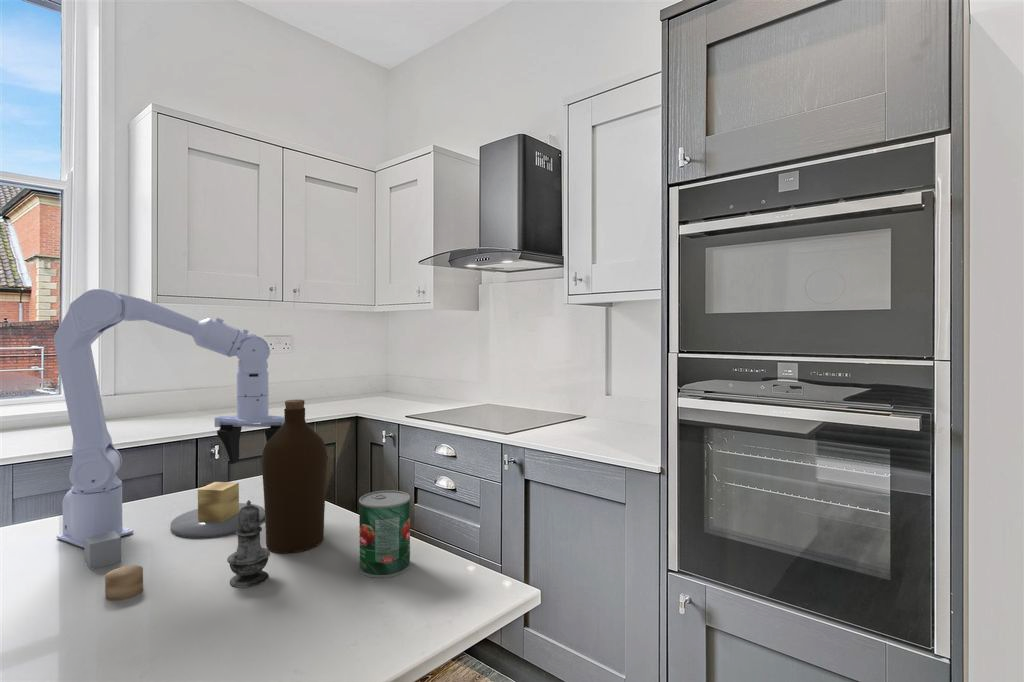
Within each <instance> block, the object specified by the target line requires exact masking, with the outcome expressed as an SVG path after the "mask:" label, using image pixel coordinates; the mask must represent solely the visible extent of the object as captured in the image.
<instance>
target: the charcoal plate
mask: <svg viewBox="0 0 1024 682" xmlns="http://www.w3.org/2000/svg"><path fill="white" fill-rule="evenodd" d="M246 505H247V502H246V503H245V502H244V503H243V502H239V510H240V509H241V508H243V507H245V506H246ZM250 505H252V506H256V507H257V508H258V509H259V524H260V523H261V522H263V521H264V520H265V507H262V506H261V505H258V504H254V503H253V504H252V503H250ZM237 530H238V514H236V515H235V516H233V517H231V518H229V519H227V520H226V521H224V522H211V521H198V508H195V509H193V510H190V511H186V512H184V513H182V514H180V515H178V516H176V517H175V518H173V520H171V522H170V532H171V534H173V535H175V536H177V537H180V538H187V539H188V538H190V539H202V538H205V539H206V538H213V537H215V538H216V537H221V536H228V535H231V534H236V531H237Z"/></svg>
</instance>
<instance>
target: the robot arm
mask: <svg viewBox="0 0 1024 682" xmlns="http://www.w3.org/2000/svg"><path fill="white" fill-rule="evenodd" d="M123 321H125V322H126V321H127V322H135V321H136V322H137V321H147V322H150V323H154V324H156V325H159V326H162V327H165V328H167V329H171V330H173V331H177V332H179V333H183V334H185V335H188V336H191V337H192V338H193V339H192V340H193V341H194V344H195V346H197V347H201V348H203V349H207V350H209V351H211V352H214V353H218V354H220V355H223V356H225V357H228V358H231V357H237V358H238V361H237V367H238V368H237V370H238V371H237V372H236V415H219V416H215V417H214V428H219V429H218V430H216V435H217V436H218V437H219V439H220V441H221V442H222V444H223V446H224V448H225V451H226V453H227V456H228V460H229V464H230V465H231V464H232V465H234V464H236V463H238V462H239V461H240V438H241V432H242V429H243V427H244V428H247V427H248V428H267V429H265V430H264V434H265V438H266V439H265V440H266V443H267V442H268V440H269V439H270V438H271V437H272V436H273V435H274V434H275V433H276V432H277V431H278V430H279V428H280V427H281V426H282V425H283V424H284V422H285V417H284V416H282V415H281V416H279V415H271V414H269V413H270V412H269V410H270V409H269V371H268V367H269V363H268V359H269V357H270V354H271V349H270V347H269V344H268V342H267V341H266V340H265V339H264V338H262V337H260V336H258V335H257V334H254V333H253V334H252V333H251V334H248V333H249V330H248V329H246V328H243V329H239V328H237V327H235V326H232V325H229V324H226V323H224V319H222V318H219V317H216V319H213V318H211V317H209V318H208V317H207V318H205V319H202V320H196V319H194V318H192V317H189V316H186V315H185V314H181V313H179V312H177V311H174V310H171V309H170V308H168V307H165V306H162V305H160V304H157V303H154V302H152V301H149V300H148V299H144V298H140V297H135V296H132V295H131V296H130V295H127V294H123V293H122V294H121V293H117V292H114V291H110V290H109V289H105V288H93V289H89V290H87V291H85V292H83V293H82V294H81V295H80V296H78V297H77V298H76V299H74V300H73V301H71V302H70V303H69V306H68V310H67V311H66V314H65V315H64V317H63V319H62V321H61V323H60V325H59V327H58V328H57V330H56V332H55V333H54V336H53V344H54V349H55V353H56V359H57V363H58V369H59V373H60V379H61V383H62V388H63V393H64V398H65V403H66V404H65V405H66V409H67V414H68V419H69V425H70V427H71V434H72V446H71V447H72V448H71V455H72V465H71V467H70V470H69V475H68V477H69V481H70V483H71V484H72V486H71V487H70V489H69V490H68V491H67V493H66V494H65V495H64V496H63V499H62V505H61V506H62V533H59V534H57V535H56V539H58V540H61V541H64V542H67V543H70V544H72V545H74V546H77V547H80V548H84V538H85V537H89V536H94V535H98V534H103V533H107V532H111V531H115V532H116V533H117V534H118V535H119V536H120V537H124V536H128V535H130V534H134V529H131V528H128V527H125V526H123V480H121V479H120V478H119V477H118V475H117V472H119V470H120V468H121V466H122V463H123V458H122V455H121V453H120V451H118V449H117V448H115V445H114V444H113V439H112V436H111V434H110V432H109V431H108V428H107V422H106V416H105V412H104V407H103V401H102V395H101V390H100V386H99V382H98V376H97V370H96V366H95V365H96V364H95V360H94V355H93V351H92V344H93V343H94V342H95V341H96V340H97V339H98V338H100V337H101V335H102V334H103V333H104V332H105V331H106V330H108V329H110V328H112V327H115V326H116V325H118V324H120V323H122V322H123Z"/></svg>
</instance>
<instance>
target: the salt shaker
mask: <svg viewBox="0 0 1024 682" xmlns="http://www.w3.org/2000/svg"><path fill="white" fill-rule="evenodd" d="M246 503H247V505H246V506H245V507H243V508H241V509H240V510H239V513H238V530H237V531H236V533H235V535H237V547H236V551H235V552H233V553H231V554H230V555H229V556H228V557H227V558H226V561H227V563H228V564H229V567H230V570H231V572H232V573H233V574H235V575H234V576H232V577H231V579H230V580H229V585H230V586H231V587H233V588H239V589H240V588H241V589H243V588H244V589H245V588H250V587H254V586H258V585H260V584H262V583H264V582H266V581H267V580H268V578H269V573H268V572H267V571H265V570H264V569H265V567H267V564H268V561H269V557H270V556H271V551H270V550H269V549H268V548H267V547H266V548H265V547H262V545H261V532H262V531H263V527H261V526H260V523H259V509H258V508H257V507H256V506H252V505H250V504H252V501H250V500H249V499H248V500H247V502H246Z"/></svg>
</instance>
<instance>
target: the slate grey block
mask: <svg viewBox="0 0 1024 682" xmlns="http://www.w3.org/2000/svg"><path fill="white" fill-rule="evenodd" d="M121 537H122V536H121ZM121 537H120V536H119V535H118V534H117V533H116V532H115V531H111V532H107V533H103V534H98V535H94V536H89V537H85V538H84V549H83V550H84V556H83V557H84V563H85V565H86V566H87V567H88V568H89V570H93V569H97V568H100V567H104V566H108V565H113V564H115V563H119V562H122V547H121V546H122V539H121Z"/></svg>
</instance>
